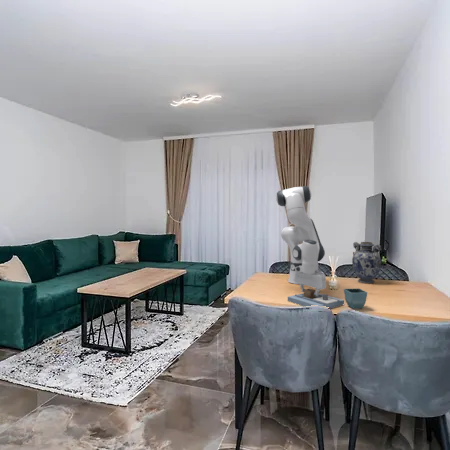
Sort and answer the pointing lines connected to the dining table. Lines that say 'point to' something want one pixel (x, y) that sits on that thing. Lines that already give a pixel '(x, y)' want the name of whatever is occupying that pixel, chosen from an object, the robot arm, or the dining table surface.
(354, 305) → the flower pot
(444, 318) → the dining table surface
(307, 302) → the puzzle board
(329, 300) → the lid
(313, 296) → the walnut block
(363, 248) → the decorative vase
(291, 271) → the robot arm
